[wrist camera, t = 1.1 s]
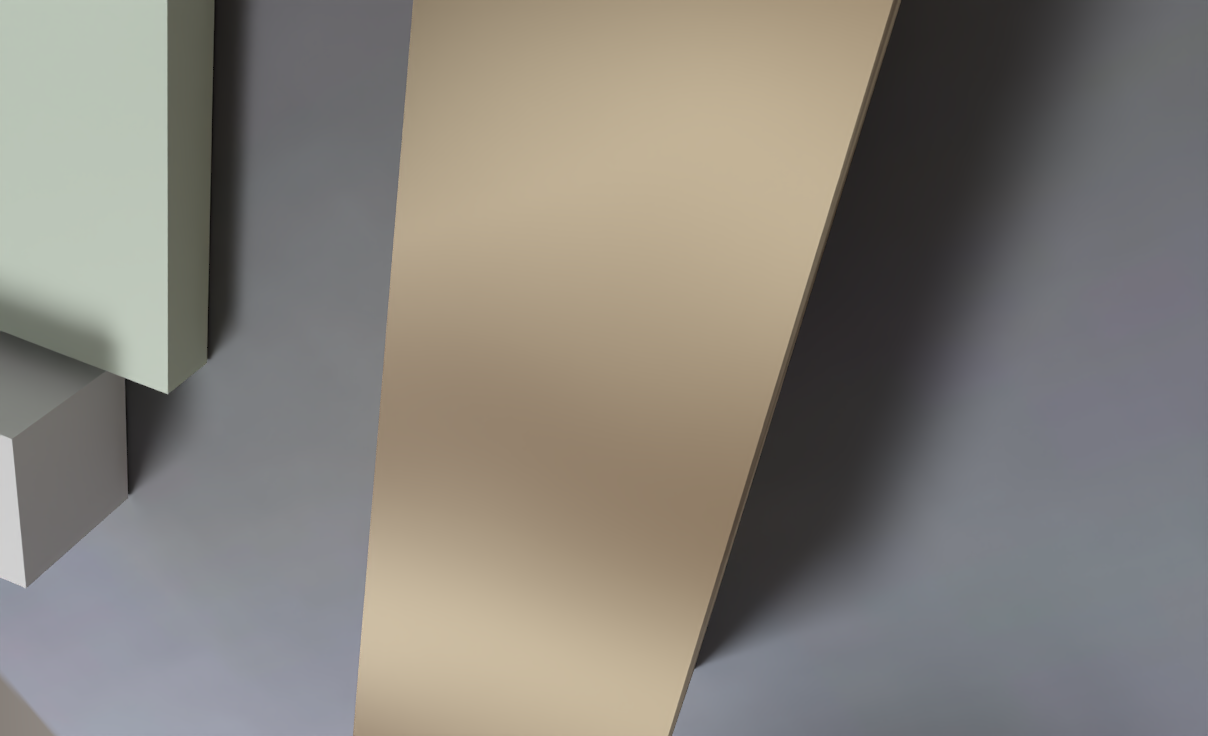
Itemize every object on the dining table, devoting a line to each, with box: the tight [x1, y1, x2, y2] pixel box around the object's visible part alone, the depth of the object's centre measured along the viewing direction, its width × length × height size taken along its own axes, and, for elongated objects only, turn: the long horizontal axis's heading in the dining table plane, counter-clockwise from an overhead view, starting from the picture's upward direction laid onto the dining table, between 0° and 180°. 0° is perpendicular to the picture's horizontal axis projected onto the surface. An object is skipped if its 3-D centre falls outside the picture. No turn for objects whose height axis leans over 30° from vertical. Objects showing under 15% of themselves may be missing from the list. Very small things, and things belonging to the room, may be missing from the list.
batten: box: [353, 0, 901, 736], centre depth 14 cm, size 12×4×4 cm, turn 170°
